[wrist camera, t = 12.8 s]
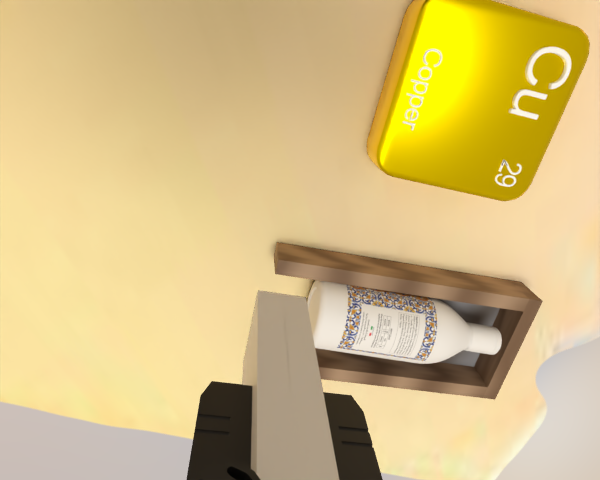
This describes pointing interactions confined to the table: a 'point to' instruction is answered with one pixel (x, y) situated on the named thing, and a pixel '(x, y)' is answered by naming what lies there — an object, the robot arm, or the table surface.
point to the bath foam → (392, 325)
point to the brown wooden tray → (429, 283)
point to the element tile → (474, 95)
